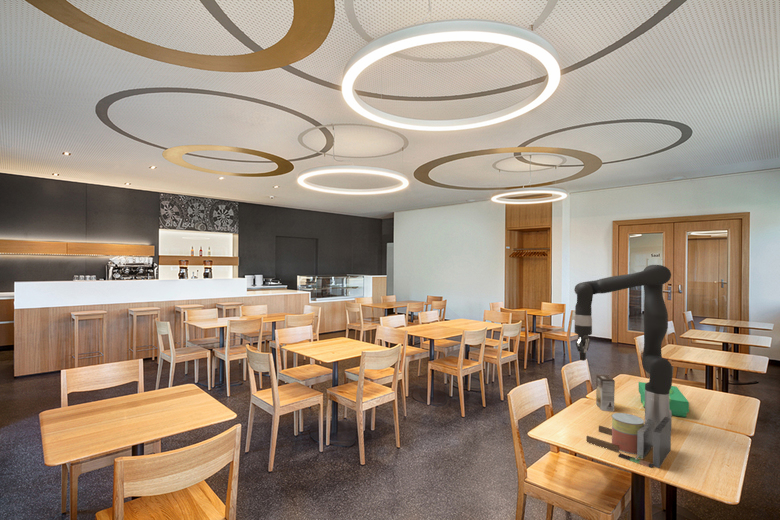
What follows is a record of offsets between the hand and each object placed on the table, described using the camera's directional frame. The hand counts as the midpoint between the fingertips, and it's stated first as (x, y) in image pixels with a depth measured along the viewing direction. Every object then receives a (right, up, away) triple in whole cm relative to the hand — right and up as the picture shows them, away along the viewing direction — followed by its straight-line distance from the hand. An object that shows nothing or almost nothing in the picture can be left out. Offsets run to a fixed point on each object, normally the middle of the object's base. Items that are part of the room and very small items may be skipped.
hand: (582, 360), depth 184 cm
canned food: (+5, -29, -27) cm, 40 cm away
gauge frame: (+4, -29, -27) cm, 40 cm away
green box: (+50, -30, +16) cm, 60 cm away
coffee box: (+20, -30, +16) cm, 39 cm away
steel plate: (+8, -28, -32) cm, 44 cm away
